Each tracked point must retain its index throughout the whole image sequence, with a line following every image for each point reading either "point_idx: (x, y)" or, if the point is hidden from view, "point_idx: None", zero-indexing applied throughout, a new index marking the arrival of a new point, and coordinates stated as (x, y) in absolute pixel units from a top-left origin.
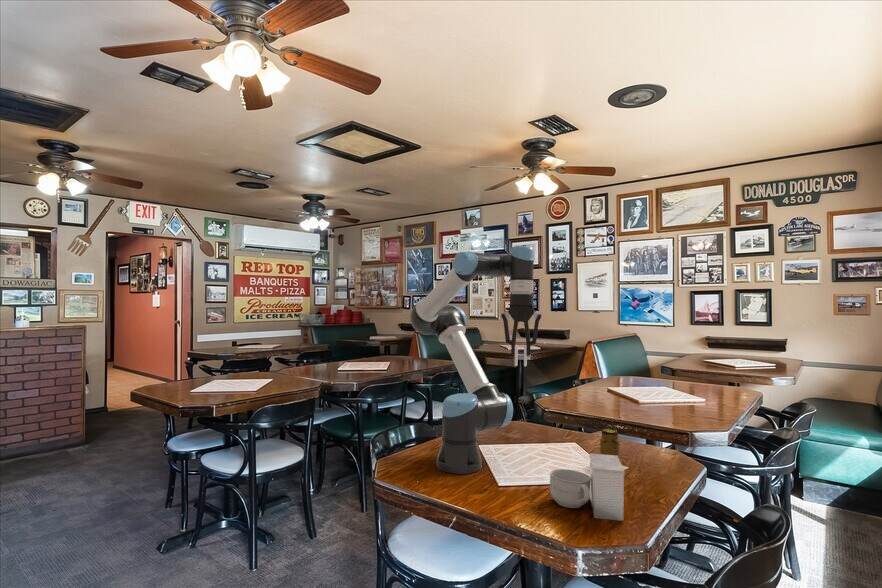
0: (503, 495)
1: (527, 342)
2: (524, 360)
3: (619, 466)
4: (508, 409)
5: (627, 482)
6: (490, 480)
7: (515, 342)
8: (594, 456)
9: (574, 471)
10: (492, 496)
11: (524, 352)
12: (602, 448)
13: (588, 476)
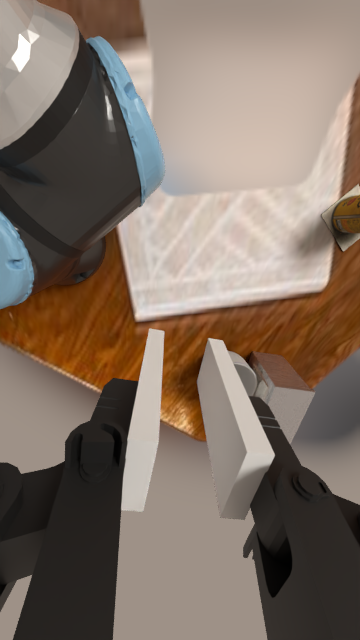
0: (141, 351)
1: (270, 574)
2: (203, 406)
3: (292, 430)
4: (147, 191)
5: (333, 292)
6: (123, 302)
7: (119, 498)
8: (276, 398)
9: (243, 365)
10: (127, 355)
11: (212, 456)
12: (356, 221)
13: (255, 383)
